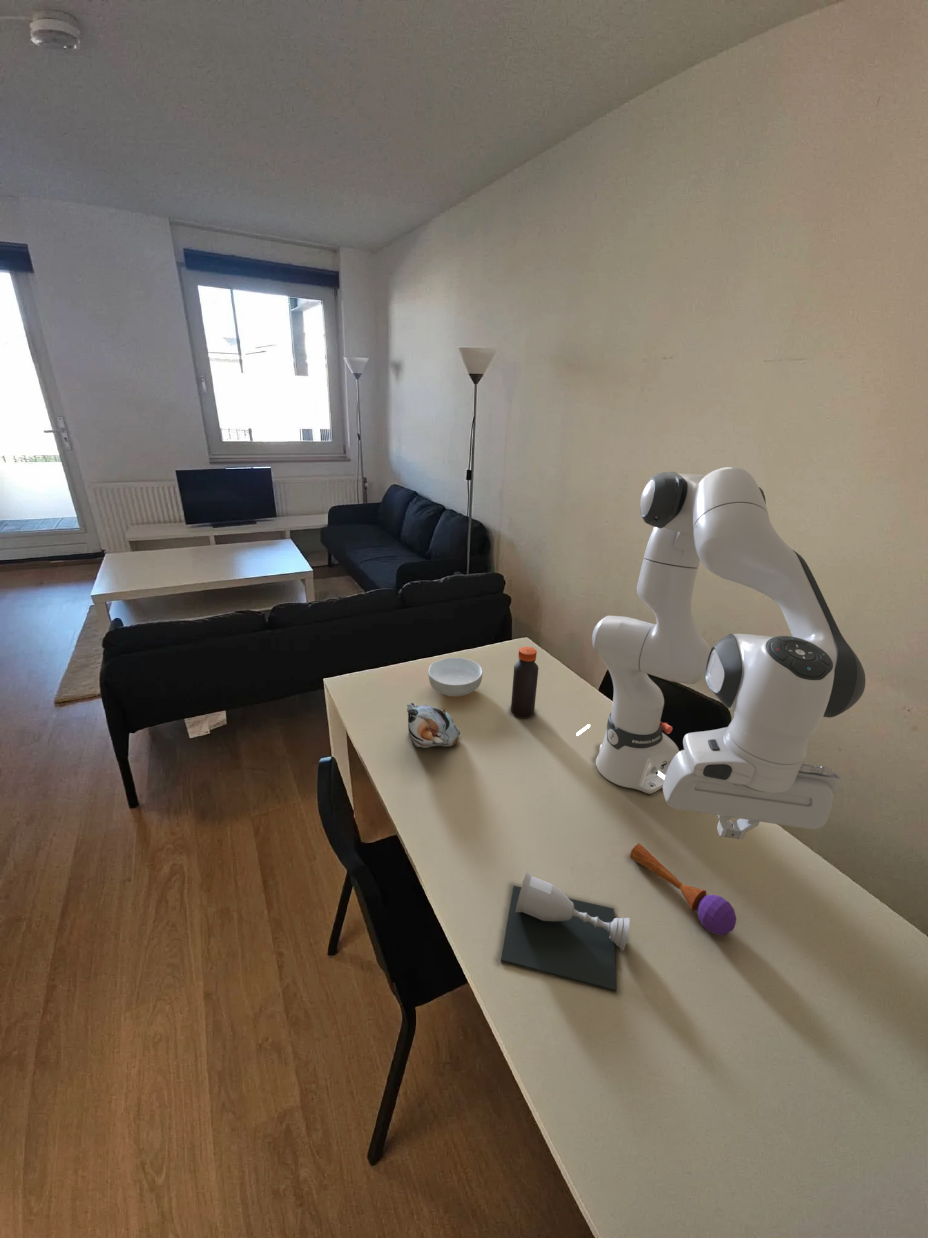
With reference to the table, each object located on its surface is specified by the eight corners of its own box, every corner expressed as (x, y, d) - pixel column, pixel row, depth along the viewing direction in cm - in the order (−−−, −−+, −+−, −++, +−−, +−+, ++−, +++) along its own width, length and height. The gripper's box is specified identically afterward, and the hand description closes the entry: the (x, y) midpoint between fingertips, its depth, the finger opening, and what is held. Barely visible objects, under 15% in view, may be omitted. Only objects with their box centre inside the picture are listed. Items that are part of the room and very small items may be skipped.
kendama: (648, 834, 101) (747, 907, 85) (641, 859, 103) (737, 935, 87) (629, 842, 98) (728, 919, 82) (622, 868, 99) (718, 949, 84)
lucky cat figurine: (469, 740, 134) (464, 716, 123) (433, 770, 130) (424, 747, 119) (435, 703, 142) (427, 677, 131) (400, 730, 138) (389, 705, 127)
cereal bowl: (426, 676, 164) (427, 657, 161) (477, 675, 166) (478, 656, 163) (429, 705, 148) (429, 685, 146) (485, 703, 150) (486, 683, 148)
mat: (613, 910, 90) (613, 908, 90) (615, 991, 78) (616, 990, 78) (513, 887, 94) (513, 885, 94) (500, 961, 81) (500, 959, 81)
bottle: (538, 711, 147) (544, 650, 139) (525, 721, 143) (531, 658, 135) (519, 702, 152) (524, 642, 144) (506, 711, 147) (510, 650, 139)
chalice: (631, 926, 80) (522, 882, 85) (620, 967, 80) (512, 920, 85) (630, 903, 87) (529, 864, 92) (620, 941, 87) (520, 899, 92)
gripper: (833, 753, 67) (798, 828, 73) (672, 732, 69) (651, 806, 75) (858, 788, 61) (818, 866, 67) (683, 763, 64) (659, 840, 70)
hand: (729, 834), depth 71 cm, fingers closed
